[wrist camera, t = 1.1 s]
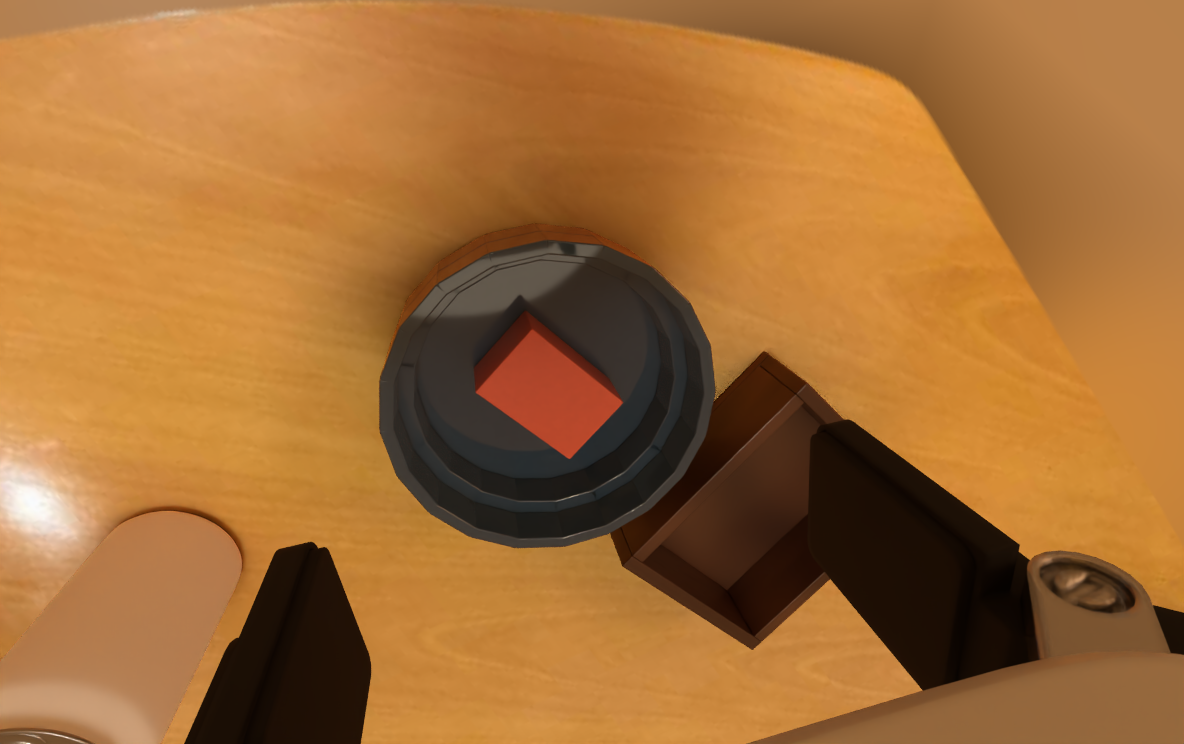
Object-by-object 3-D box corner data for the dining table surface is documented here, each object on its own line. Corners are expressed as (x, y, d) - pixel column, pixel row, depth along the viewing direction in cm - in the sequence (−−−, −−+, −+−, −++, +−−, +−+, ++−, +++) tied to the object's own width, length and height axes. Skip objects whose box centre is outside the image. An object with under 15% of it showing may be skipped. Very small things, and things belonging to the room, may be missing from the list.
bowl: (528, 153, 27) (542, 159, 23) (732, 349, 33) (775, 384, 29) (326, 391, 29) (303, 440, 25) (552, 534, 36) (566, 594, 31)
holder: (764, 350, 34) (807, 382, 30) (870, 456, 38) (920, 496, 34) (602, 515, 36) (622, 566, 32) (722, 596, 40) (752, 650, 36)
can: (225, 496, 30) (96, 703, 20) (259, 593, 33) (163, 823, 22) (83, 517, 29) (-137, 749, 18) (130, 616, 32) (-38, 870, 21)
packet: (525, 309, 29) (532, 328, 27) (609, 379, 32) (624, 402, 29) (473, 368, 30) (474, 392, 27) (560, 431, 32) (569, 460, 30)
